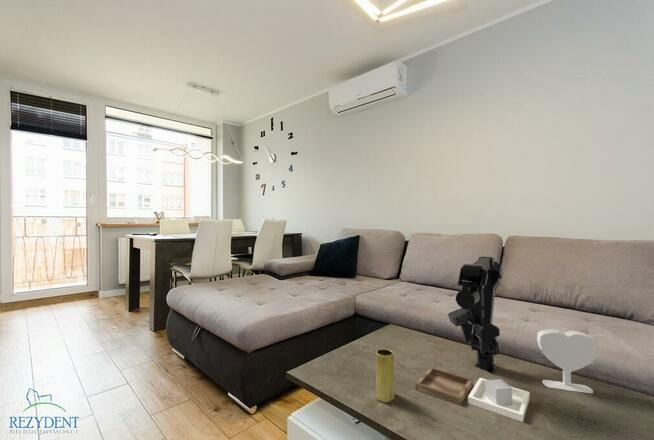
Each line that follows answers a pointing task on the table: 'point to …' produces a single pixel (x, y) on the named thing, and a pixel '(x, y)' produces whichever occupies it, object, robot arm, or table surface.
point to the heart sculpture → (567, 355)
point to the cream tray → (512, 411)
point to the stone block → (499, 392)
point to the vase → (384, 375)
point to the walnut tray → (444, 385)
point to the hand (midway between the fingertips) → (474, 347)
